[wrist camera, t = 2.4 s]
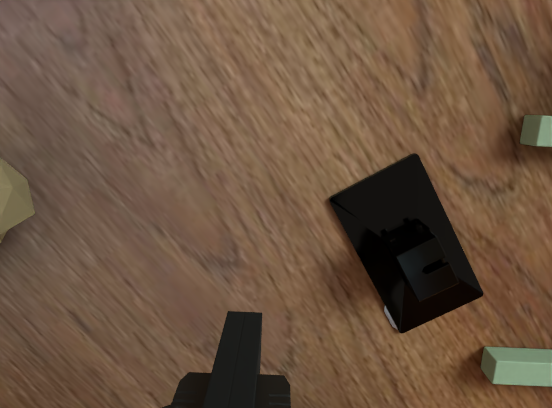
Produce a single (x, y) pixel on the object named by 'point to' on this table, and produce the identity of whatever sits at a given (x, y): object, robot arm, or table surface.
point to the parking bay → (521, 361)
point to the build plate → (406, 244)
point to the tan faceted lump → (13, 198)
